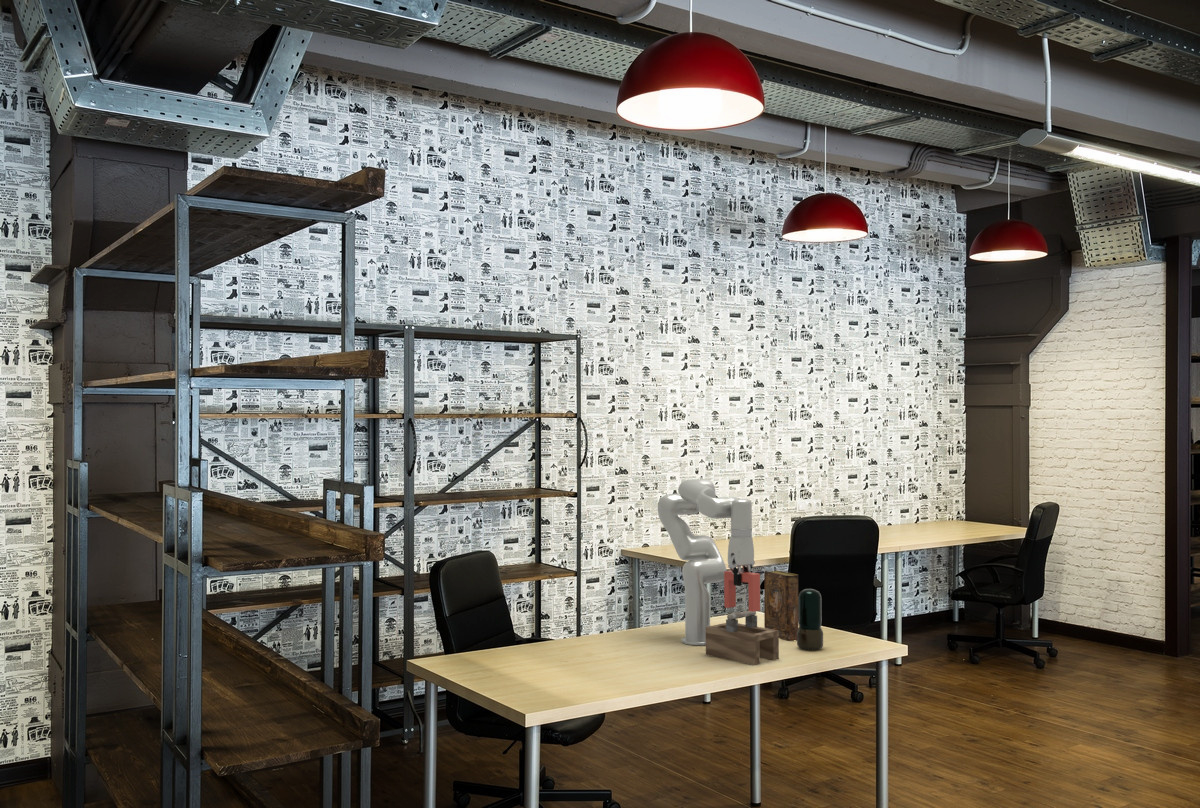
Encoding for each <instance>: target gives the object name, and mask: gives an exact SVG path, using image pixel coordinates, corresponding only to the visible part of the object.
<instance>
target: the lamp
mask: <svg viewBox="0 0 1200 808" xmlns="http://www.w3.org/2000/svg"><path fill="white" fill-rule="evenodd" d="M822 623H823V622H822V595H821V593H820V591H818V590H816V589H813V588H805V589H803V590H801V591H800V592H798V630H797V640H796V646H797V647H798V648H799V649H800V650H804V651H819V650H822V648H823V647H824V631H823V629H822Z"/></svg>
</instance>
